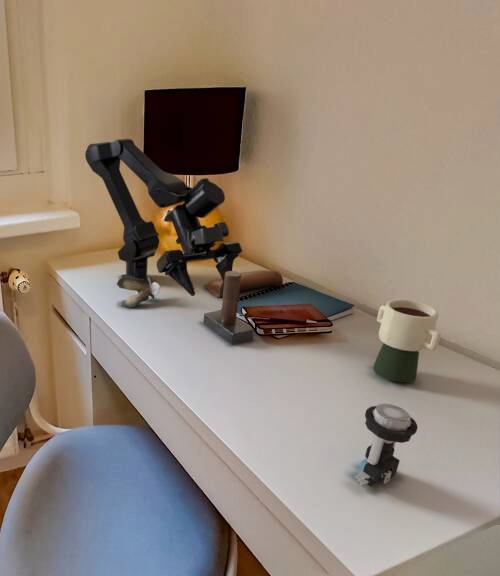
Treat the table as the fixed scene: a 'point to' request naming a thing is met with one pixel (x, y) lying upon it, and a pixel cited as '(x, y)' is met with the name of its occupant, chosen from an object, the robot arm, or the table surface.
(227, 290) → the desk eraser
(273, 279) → the sunglasses case
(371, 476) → the push button
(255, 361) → the table surface
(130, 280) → the eagle figurine
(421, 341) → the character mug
